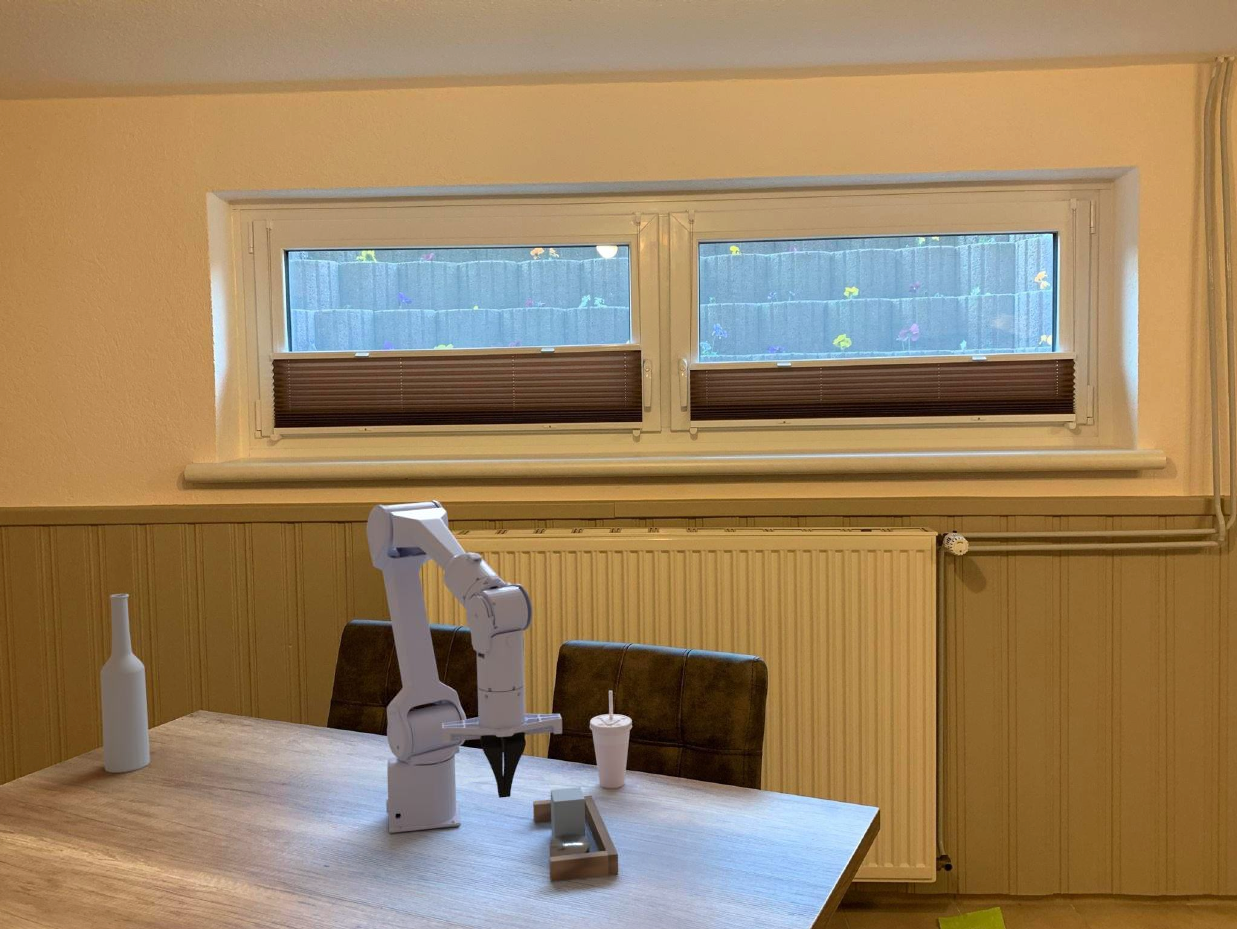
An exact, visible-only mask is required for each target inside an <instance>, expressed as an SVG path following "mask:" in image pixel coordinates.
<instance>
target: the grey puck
mask: <svg viewBox="0 0 1237 929" xmlns="http://www.w3.org/2000/svg"><path fill="white" fill-rule="evenodd" d="M548 846H549V858H550V857H555V856H564V855H573V854H582V853H591V852H590V851H591V849H590V848H591V847H590V840H589V839H588V837H587V836H586V837H584V836H582V835H577V834H566V835H561V836H558V837H555V838H553V837H552V839H550V841H549V844H548Z"/></svg>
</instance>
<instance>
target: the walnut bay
mask: <svg viewBox="0 0 1237 929" xmlns="http://www.w3.org/2000/svg"><path fill="white" fill-rule="evenodd" d="M583 796H584V798H585V822H586V823H587V826H588V828H589V832H590V833H591V836H592V838H593V840H594V843H595V845H596V847H597V850H598V851H592V852H590V853H582V854H573V855H564V856H555V857H550V856H549V879H550V882H551V883H553V882H562V881H563V882H564V881H570V880H571V881H572V880H578V879H579V880H580V879H587V878H597V877H598V878H599V877H604V876H605V877H606V876H613V875H619V853H618V850H617V849H616V846H615V844H614V842H613V839H612V838H611V836H610V834H609V831H608V828H607V826H606V824H605V822H604V819H603V818H602V815H601V813H600V811H599V809H598V806H597V804H596V802H595V800H594V798H593V796H592V795H583ZM532 805H533V811H532V812H533V813H532V814H533V821H534V823H544V822H551V799H542V800H534V801H533V802H532Z"/></svg>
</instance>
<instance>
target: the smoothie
mask: <svg viewBox="0 0 1237 929" xmlns="http://www.w3.org/2000/svg"><path fill="white" fill-rule="evenodd" d="M613 700H614V697H613V690H608V707H609V708H608V710H609V711H608V713H607V714H600V715H596V716H594V717H592V718H591V719H590V721H589V729H590V730H591V732H592V739H593V745H594V753H595V758H596V759H595V761H596V765H597V773H598V781H599V785H600V787H603V788H604V789H605V788H606V789H617V788H621V787H623V786H624V785H625V779H626V772H627V771H626V769H627V760H628V749H629V740H630V731H631V729H632V728H633V725H632V724H633V722H632V721H633V720H632V718H631V717H629V716H628V715H627V716H626V715H623V714H618V713H617V714H615V713H614V701H613Z"/></svg>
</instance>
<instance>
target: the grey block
mask: <svg viewBox="0 0 1237 929" xmlns="http://www.w3.org/2000/svg"><path fill="white" fill-rule="evenodd" d="M584 796H585V795H584V793H583V791H582V788H581V787H569V788H557V789H556V788H555V789H550V800H551V821H550V822H551V826H550V827H551V836H552V839H553V838H555V837H558V836H561V835H566V834H577V835H582V836H584V837H586V838H587V836H586V819H585V798H584Z"/></svg>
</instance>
